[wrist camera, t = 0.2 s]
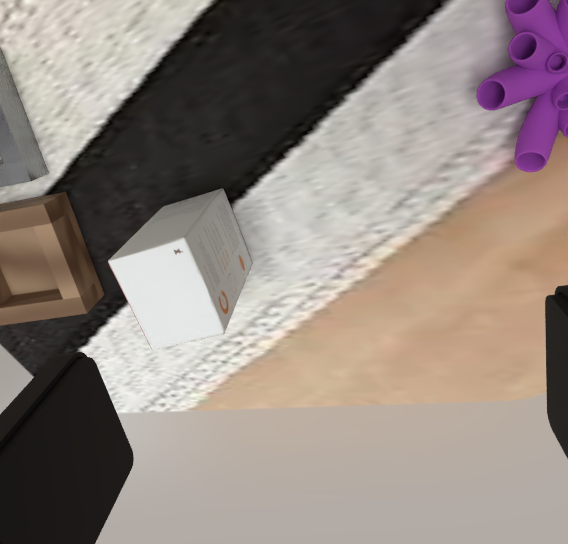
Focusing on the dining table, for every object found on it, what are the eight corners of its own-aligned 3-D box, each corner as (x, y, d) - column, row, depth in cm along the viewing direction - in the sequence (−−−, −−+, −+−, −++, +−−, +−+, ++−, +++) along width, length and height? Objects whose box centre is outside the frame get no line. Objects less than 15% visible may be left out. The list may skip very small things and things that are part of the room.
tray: (-36, 210, 51) (-65, 223, 47) (65, 191, 49) (43, 204, 45) (9, 308, 55) (-14, 327, 51) (104, 294, 53) (86, 313, 49)
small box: (162, 205, 48) (104, 259, 37) (224, 186, 47) (184, 235, 35) (194, 280, 51) (151, 353, 40) (254, 264, 50) (227, 334, 38)
